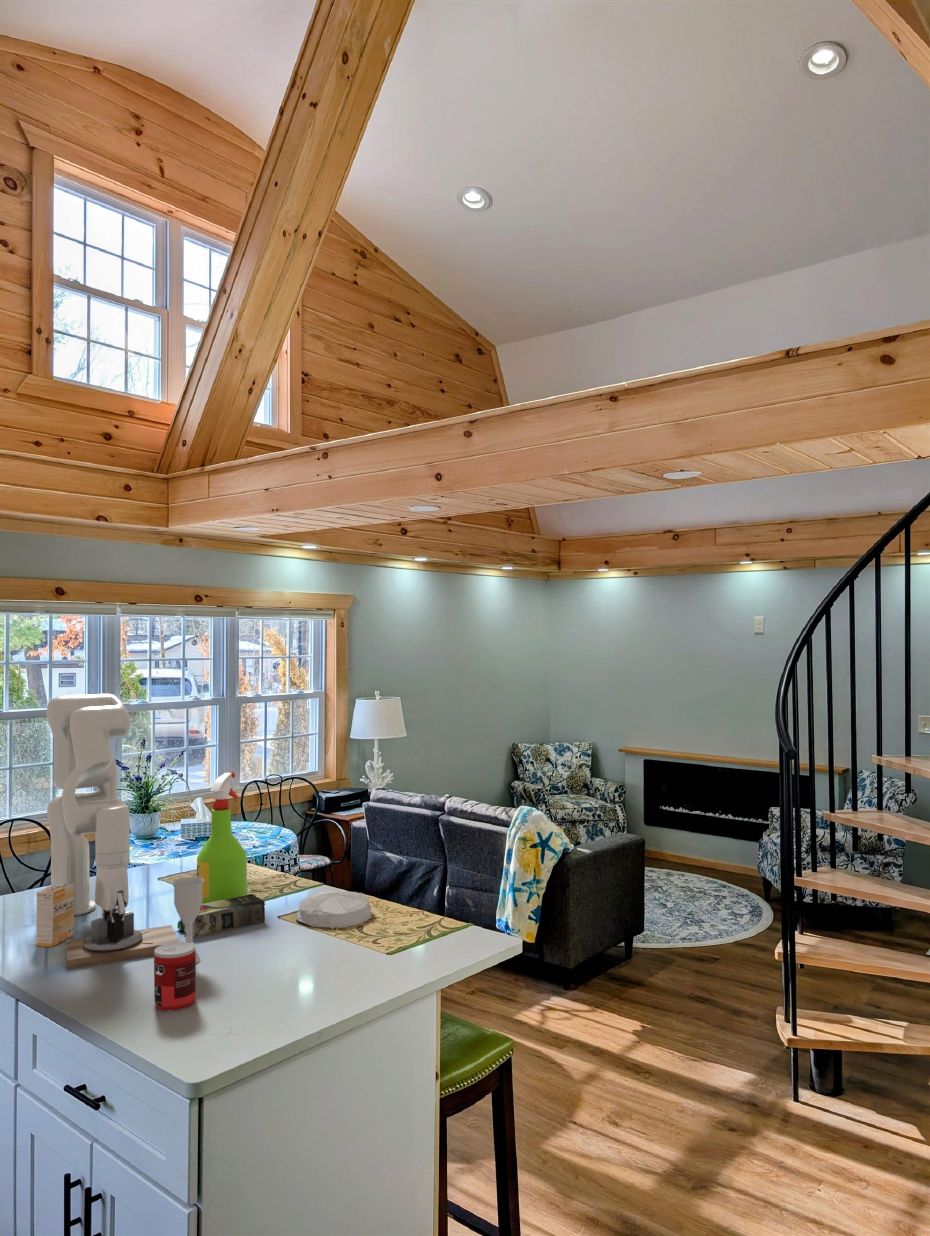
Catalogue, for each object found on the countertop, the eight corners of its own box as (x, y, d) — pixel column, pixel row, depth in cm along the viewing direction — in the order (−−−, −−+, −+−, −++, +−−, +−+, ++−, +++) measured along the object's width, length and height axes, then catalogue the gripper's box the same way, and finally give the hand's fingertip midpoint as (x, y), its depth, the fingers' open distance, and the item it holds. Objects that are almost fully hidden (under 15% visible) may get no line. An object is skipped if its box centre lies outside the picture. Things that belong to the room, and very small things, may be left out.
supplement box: (53, 947, 207) (52, 892, 208) (35, 946, 208) (35, 891, 209) (75, 936, 215) (75, 883, 216) (58, 935, 216) (57, 882, 217)
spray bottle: (260, 888, 255) (259, 769, 256) (235, 907, 237) (234, 778, 238) (216, 887, 256) (215, 769, 257) (188, 906, 238) (187, 778, 239)
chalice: (211, 957, 199) (210, 878, 199) (193, 968, 192) (192, 886, 193) (184, 954, 201) (184, 876, 202) (165, 964, 195) (165, 884, 195)
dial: (101, 956, 195) (101, 928, 195) (71, 945, 203) (71, 918, 203) (153, 940, 205) (153, 913, 205) (123, 929, 213) (122, 904, 213)
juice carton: (188, 940, 211) (188, 914, 212) (175, 930, 219) (175, 905, 220) (265, 924, 223) (265, 900, 223) (251, 915, 231) (251, 892, 231)
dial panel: (65, 949, 206) (65, 940, 206) (171, 933, 216) (171, 924, 216) (67, 969, 193) (67, 959, 193) (179, 950, 204) (179, 941, 204)
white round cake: (375, 906, 238) (374, 881, 238) (369, 928, 218) (368, 901, 218) (301, 908, 237) (301, 883, 238) (289, 931, 217) (289, 903, 218)
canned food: (160, 996, 177) (159, 942, 177) (199, 994, 178) (199, 940, 178) (149, 1012, 169) (149, 955, 170) (191, 1010, 170) (190, 953, 170)
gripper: (85, 854, 208) (85, 931, 208) (108, 867, 196) (108, 949, 195) (117, 849, 213) (117, 924, 213) (141, 861, 200) (141, 941, 200)
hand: (113, 935), depth 204 cm, fingers closed on dial, 3 cm apart
